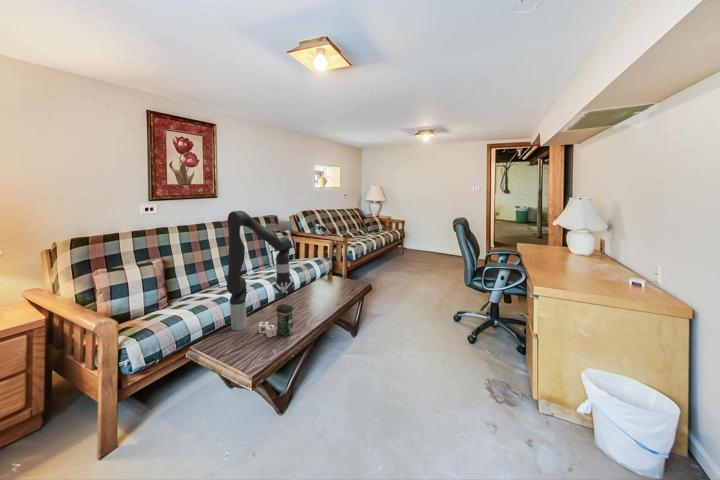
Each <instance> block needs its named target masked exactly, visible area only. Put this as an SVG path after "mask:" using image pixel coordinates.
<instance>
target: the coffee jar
mask: <svg viewBox="0 0 720 480" xmlns="http://www.w3.org/2000/svg"><path fill="white" fill-rule="evenodd" d="M293 308H294V307H293V306H292V305H290V304H286V303H280V304H278V305H277V306H276V315H277V325H276V326H277V327H276V334H278V335H281V336H284V337H288V336H291V335H292V334H293V333H294V323H293V322H294V321H293V313H294V309H293Z"/></svg>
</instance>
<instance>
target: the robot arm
mask: <svg viewBox="0 0 720 480" xmlns="http://www.w3.org/2000/svg"><path fill="white" fill-rule="evenodd" d="M243 226H244V227H245V228H246V227H247V229H248V228H249V229H250V230H251V231H253V232H254V234H255V235H256V236H257V237H258V238H260V239H262V240H263V241H264V242H266V243H268V244H269V245H270V246H271V248H273V249H275V250H276V251H278V253H277V254H276V257H275V258H276V268H275V269H276V281H275V283H272V287H273V288H274V289H275V290H276V291H277V292H278V293H281V299H283V300H285V299H286V298H287V297H288V296H287V292H289V291H291V289H292V288H293V287H294V285H295V283H294V281H291V276H290V275H291V272H290V261H289V255H290V249H291V242H290V239H289V238H288V237H286V236H285V237H284V236H283V237H280V238H279V237H278V236H277V234H276V233H275V232H274V231H272V230H271V229H269V228H267V227H266V226H264V225H262V224H261V223H260V222H258V221H257V220H255V219H254V218H253V217H252V216H250V215H249V214H248V213H247V212H246V211H243V210H234V211H231V212H229V213H228V216H227V230H228V231H227V232H228V250H227V251H228V253H227V254H228V255H227V256H228V258H227V259H228V260H227V261H228V263H227V264H228V265H227V266H228V267H227V268H228V269H227V279H226V290H227V292H228V293H229V294H231V295H230V298H229V309H230V326H231V327H230V328H231V331H242V330H245V329H246V328H247V327H248V320H247V317H248V316H247V305H246V300H247V299H246V298H247V281H246V279H245V277H242V276H241V272H242V267H243V265H244V261H245V257H246V256H245V253H246V252H245V250H246V249H245V244H244V241H243V240H242V237H241V227H243ZM279 287H280V288H279Z"/></svg>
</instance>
